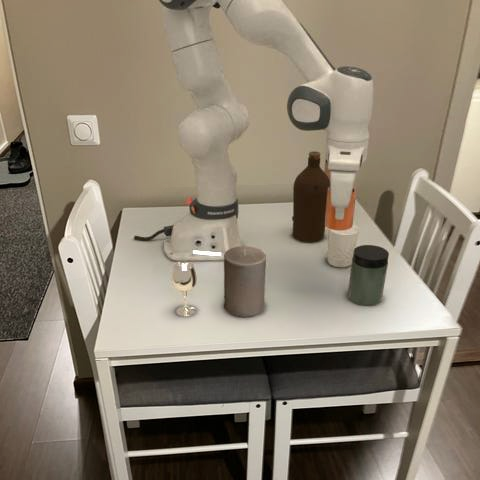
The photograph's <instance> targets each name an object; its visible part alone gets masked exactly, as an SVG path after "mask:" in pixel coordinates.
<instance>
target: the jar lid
mask: <svg viewBox="0 0 480 480" xmlns="http://www.w3.org/2000/svg"><path fill="white" fill-rule="evenodd" d="M389 256H390V252H389V251H388V250H387V249H386V248H384V247H382V246H378V245H374V244H362V245H358V246H356V247H355V249H354V254H353V260H354V262H355V263H357V264H359V265H361V266H364V267H370V268H378V267H382V266H385V265H386V264H387V262H388V263H389Z"/></svg>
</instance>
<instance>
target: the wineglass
mask: <svg viewBox="0 0 480 480" xmlns="http://www.w3.org/2000/svg"><path fill="white" fill-rule="evenodd" d="M170 280H171V285H172V287H173V288H174V289H175V291H177V292H180V293H182V297H183V302H184V303H183V304H184V305H182V306H179V307H177V308H176V311H175V312H176V314H177V315H179V316H181V317H190V316H192V315H194V314H195V313H196V308H195V307H193V306H191V305H188V304H187V298H188V293H189V292H191V291H193V290H194V289H195V287H196V286H197V281H198V278H197V271H196V268H195V266H194V263H193V262H191V261H176V262H175V263H173V265H172V269H171V276H170Z"/></svg>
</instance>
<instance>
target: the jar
mask: <svg viewBox="0 0 480 480" xmlns="http://www.w3.org/2000/svg"><path fill="white" fill-rule="evenodd" d="M388 265H389V261H388V262H387V264H386V265H385V266H382V267H378V268H370V267H364V266H361V265H359V264H357V263H355V262H354V260H353V258H352V264H351V265H350V272H349V280H348V288H347V298H348V300H349V301H350V302H352V303H354V304H356V305H360V306H366V307H367V306H368V307H371V306H376V305H379V304H380V303H381V302H382V301H383V295H384V289H385V284H386V278H387V271H388Z"/></svg>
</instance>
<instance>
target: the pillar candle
mask: <svg viewBox="0 0 480 480" xmlns="http://www.w3.org/2000/svg"><path fill="white" fill-rule="evenodd" d="M266 267H267V254H266V253H265V251H264V250H263V249H262V248H257V247H254V246H248V245H242V246H239V247H234V248H231V249H229V250H227V251H226V252H225V254H224V260H223V284H224V286H223V290H224V291H223V292H224V293H223V294H224V296H223V297H224V298H223V299H224V304H223V309H224V310H225V311H226V312H227V313H228V314H229V315H233V316H235V317H241V318H250V317H254V316H256V315H259V314H261V313H262V312H263V310H264V309H265V295H266V270H267V269H266Z"/></svg>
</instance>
